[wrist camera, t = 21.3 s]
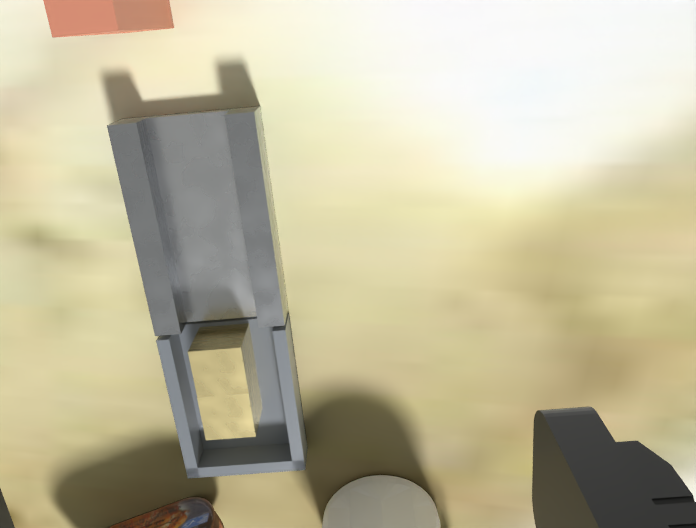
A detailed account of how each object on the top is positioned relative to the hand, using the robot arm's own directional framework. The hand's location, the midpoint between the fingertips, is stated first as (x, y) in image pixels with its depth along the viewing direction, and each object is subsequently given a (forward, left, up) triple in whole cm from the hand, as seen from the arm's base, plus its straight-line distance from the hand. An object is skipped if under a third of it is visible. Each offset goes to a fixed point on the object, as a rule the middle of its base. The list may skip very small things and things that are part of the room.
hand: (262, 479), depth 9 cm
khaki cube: (+10, +22, -38) cm, 45 cm away
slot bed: (+10, +7, -38) cm, 40 cm away
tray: (+10, +22, -38) cm, 45 cm away
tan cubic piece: (+10, +18, -38) cm, 43 cm away
